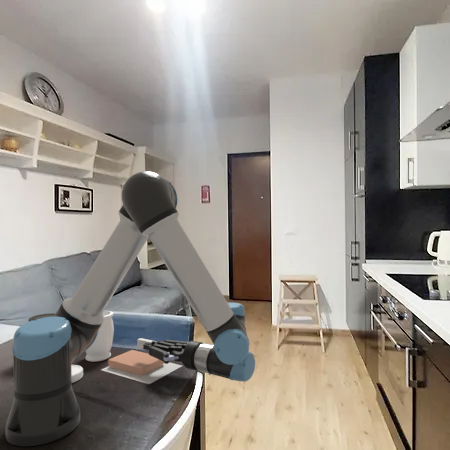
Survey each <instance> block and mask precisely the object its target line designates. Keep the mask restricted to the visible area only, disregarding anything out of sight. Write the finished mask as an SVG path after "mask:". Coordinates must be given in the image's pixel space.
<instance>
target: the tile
mask: <svg viewBox="0 0 450 450" xmlns="http://www.w3.org/2000/svg"><path fill="white" fill-rule="evenodd" d="M163 364H164V362H163V361H161V360H159V359H157V358H155V357H152V356H150V355H149V353H148V352H143V351H138V350H134V349H131V350H128V351H126V352H124V353H121V354H118V355H116V356H113V357H110V358H108V363H107V365H108V366H110V367H111V368H114V369H118V370H121V371H125V372H128V373H132V374H135V375H139V376H143V375H145V374H146V373H148V372H150V371H152V370H154V369H156V368H158V367H160V366H162V365H163ZM108 366H107V367H108Z"/></svg>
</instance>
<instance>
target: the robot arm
mask: <svg viewBox="0 0 450 450" xmlns="http://www.w3.org/2000/svg"><path fill="white" fill-rule="evenodd" d="M121 202H122V205H121V207H120V209H119V210H118V215H119V222H118V224H117V225H116V227H115V228H114V230H113V231H112V233H111V235H110V236H109V238H108V240H107V241H106V243H105V244H104V246H103V247H102V249H101V250H100V252H99V254H98V256H97V257H96V259H95V260H94V263H92V265H91V267H90V269H89V271H87V274H86V275H85V277H84V278H83V280H82V281H81V284H80V285H79V286H78V289H77V290H76V291H75V293H74V295H73V296H72V297H68V298H66V299H64V300H63V301H62V303H61V304H60V305H59V307H58V309H57V310H56V312H55V313H54V314H55V315H54V317H44V318H39V319H37V320H34V321H30V322H29V321H28V322H25V323H23V324H22V325H20V326H19V327H18V328H17V329H16V330H15V332H14V335H13V342H12V349H11V351H12V358H13V360H12V362H13V363H12V365H13V395H14V396H13V402H12V404H11V408H10V411H9V414H8V417H7V419H6V423H5V428H4V429H5V439H6V442H8V443H9V444H11V445H13V446H17V447H35V446H36V447H37V446H40V445H41V446H42V445H45V444H49V443H53V442H55V441H57V440H59V439H62V438H63V437H65V436H67V435H68V434H70V433H72V432H73V431H74V430H75V429H76V428H77V427H78V426H79V424H80V423H81V407H80V405H79V402H78V400H77V397H76V395H75V392H74V390H73V386H72V384H73V383H72V380H71V378H72V376H71V365H72V363H74V362H75V361H76V359H77V358H79V357H80V356H81V355H82V354H83V353H84V352H85V351H86V350H87V349H88V348H89V347H90V346H91V345H92V344H93V343H94V341H95V339H96V337H97V334H98V330H99V328H100V326H101V325H102V323H103V321H104V317H103V313H102V312H103V311H105V309H106V308H107V306H108V305H109V303H110V301H111V300H112V298H113V296H114V294H115V293H116V291H117V289H118V288H119V286H120V285H121V283H122V282H123V280H124V278H125V277H126V275H127V273H128V272H129V270H130V268H131V267H132V265H133V264H134V262H135V260H136V259H137V257H138V255H140V252H141V250H142V249H143V247H144V246H145V244H146V242H147V241H148V239H149V240H150V242H151V243H152V245H153V247H154V248H155V250H156V251H157V253H158V255H159V256H160V258H161V259H162V261H163V263H164V265H165V266H166V268H167V269H168V272H170V274H171V276H172V277H173V279H174V281H175V283H176V284H177V286H178V288H179V289H180V290H181V292H182V294H183V295H184V297H185V298H186V300H187V302H188V304H189V305H190V307H191V309H192V310H193V312H194V313H195V315H196V317H197V318H198V320H199V321H200V323H201V325H202V327H203V328H204V330H205V332H206V333H207V335H208V337H209V339H210V340H211V342H212V343H213V344H212V343H208V342H202V341H196V340H191V341H183V340H182V341H181V340H173V339H162V340H163V341H161V340H158V341H156V340H153V339H146V338H141V337H140V338H138V339H137V341H136V342H137V344H136V346H137V349H139V350H145V351H148V354H149V355H150V356H152V357H155V358H157V359H159V360H161V361H163V362H164V363H165V364H168V363H169V362H170V361H174V362H179V363H182V364H183V366H184V367H185V368H186V369H188V370H191V371H197V372H201V373H203V374H204V373H205V374H208V376H210V375H213V376H216V377H221V378H225V379H228V380H231V381H237V382H244V383H245V382H247V381H249V380H251V378H252V377H253V375H254V373H255V368H256V359H255V355H254V354H253V352H251V351H249V349H250V339H249V337H248V333H247V328H246V320H245V319H246V314H245V306H244V305H243V304H242V303H239V302H232V301H231V302H227V300H226V298H225V296H224V294H223V293H222V292H221V290H220V288H219V286H218V285H217V283H216V282H215V281H216V280H214V278H213V276H212V275H211V273H210V272H209V270H208V268H207V266H206V265H205V263H204V261H203V260H202V258H201V256H200V255H199V253H198V252H197V250H196V248H195V246H194V245H193V243H192V241H191V240H190V239H189V237H188V235H187V233H186V232H185V230H184V227H183V226H182V225H181V224H180V221H179V220H178V218H179V211H178V210H177V206H178V194H177V191H176V188H175V186H173V184H172V183H171V182H169V181H168V179H166V178H164V177H163V176H161V175H160V174H158V173H156V172H154V171H138V172H136V173H135V174H132V175H131V176H130V177H129V178H127V180H126V181H125V182H124V184H123V186H122V190H121Z"/></svg>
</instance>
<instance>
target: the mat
mask: <svg viewBox="0 0 450 450" xmlns="http://www.w3.org/2000/svg"><path fill="white" fill-rule="evenodd" d="M181 367H183V365H181V364H177V363H174V362H170V361H169V363H168V364H165V363H164V364H163V365H162V366H160V367H158V368H156V369H154V370H152V371H150V372H148V373H146V374H145V375H143V376H139V375H135V374H132V373H128V372H125V371H121V370H118V369H114V368H111V367H110V366H105V367H104V368H101V369H100V371H103V372H106V373H110V374H112V375H116V376H119V377H123V378H126V379H130V380H134V381H137V382H139V383H143V384H146V385H151V384H152V383H154V382H156V381H158V380H159V379H162V378H163V377H165V376H167V375H169V374H170V373H172V372H174V371H177V369H180V368H181Z"/></svg>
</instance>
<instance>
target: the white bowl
mask: <svg viewBox="0 0 450 450" xmlns="http://www.w3.org/2000/svg"><path fill="white" fill-rule="evenodd" d="M71 376H72V378H71V380H72V384H73V383H77V382H78V381H79V380H81V379H82V378H83V376H84V368H83V367H82V366H81V365H78V364H71Z"/></svg>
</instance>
